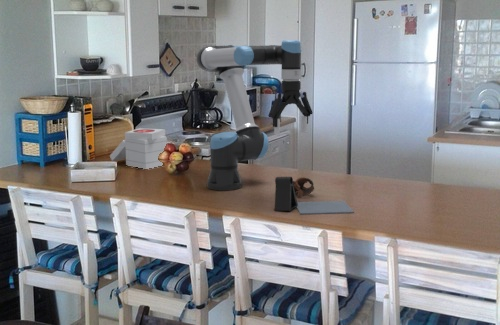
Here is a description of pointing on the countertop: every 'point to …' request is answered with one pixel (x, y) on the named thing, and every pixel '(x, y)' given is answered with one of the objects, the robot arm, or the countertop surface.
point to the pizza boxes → (141, 148)
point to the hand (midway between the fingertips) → (290, 133)
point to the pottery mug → (302, 186)
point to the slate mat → (323, 207)
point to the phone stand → (285, 194)
